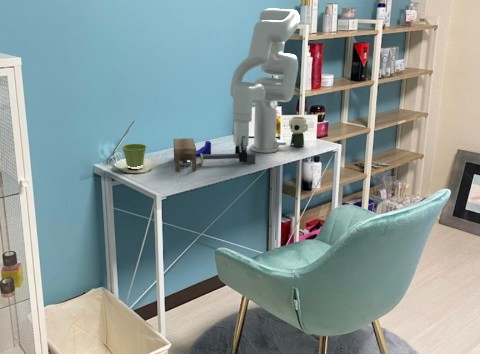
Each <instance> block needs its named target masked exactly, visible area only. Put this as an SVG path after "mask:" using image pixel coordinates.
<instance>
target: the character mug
mask: <svg viewBox="0 0 480 354" xmlns="http://www.w3.org/2000/svg"><path fill="white" fill-rule="evenodd" d="M307 121H308V118H307V117H305V116H299V115H298V116H291V117H290V119H289V121H288V126H289V130H290V132H291V133H292V134H291V139H290V146H293V147H302V146H305V135H304V133H305V132H308V130H309V124H308V123H307Z"/></svg>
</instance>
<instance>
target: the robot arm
mask: <svg viewBox="0 0 480 354" xmlns="http://www.w3.org/2000/svg"><path fill="white" fill-rule="evenodd" d="M258 19H259V21H257V22H256V23H255V24H254V27H253V32H252V37H251V39H250V40H251V41H250V46H249V50H248V55H247V57H246V58H245V59H243V60H242V61H241V62H240V63H239V64H238V66H237V67H236V68H235V70H234V72H233V74H232V78H231V83H230V90H229V91H230V93H229V94H230V97H231V98H232V121H233V122H234V123H233V136H232V137H233V138H232V140H233V141H232V142H233V144H234V146H235V149H234V154H238V153H239V158H238V162H239V163H242V162H247V153H248V146H249V137H250V122H252V117H253V103H254V129H253V130H254V131H253V133H254V134H253V135H254V136H253V143H252V144H251V145H250V147H249V148H250V150H251V151H253V152H254V153H255V152H256V153H261V154H262V153H263V154H266V153H267V154H269V153H275V152H278V151H279V149H280V148H279V146H287V141H286V140H282V139H281V140H280V139H279V140H277V137H276V136H277V115H278V114H277V111H278V110H277V107H276V105H275V103H274V102H281V103H287V102H290V101H291V100H292V98H293V97H294V93H295V89H296V84H297V77H298V72H299V60H298V57H297V55H295V54H292V53H284V51H285V44H286V42H287V41H288V40H289V39H290V38H291V37H292V35H294V33H295V32H296V31H297V29H298V27H299V25H300V19H301V18H300V14H299V12H298V11H297V10H295V9H284V8H282V9H280V8H266V9H263V10H262V11H261V12H259V18H258ZM259 66H260V69H261V72H262V73H263V75H264V74H265V75H268V76H277V77H278V76H279V77H283V78H276V77H274V78H273V77H267V76H266V77H258V78H257V79H256V80H255V81H253V82H251V81H250V82H249V81H248V82H247V81H243V80H244V79H243V78H244V77H245V75H246V74H247V73H248V72H249V71H251V70H253V69H254V68H257V67H259Z"/></svg>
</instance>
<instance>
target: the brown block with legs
mask: <svg viewBox="0 0 480 354" xmlns="http://www.w3.org/2000/svg"><path fill="white" fill-rule="evenodd" d="M172 141H173V161H174V163H175V165H174V166H175V170H174V171H175V172H180V166H179V160H181V159H190V160H191V169H192V172H197V157H196V151H197V147H196V143H195V141H194V138H193V137H192V138H191V137H190V138H173V139H172Z"/></svg>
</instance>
